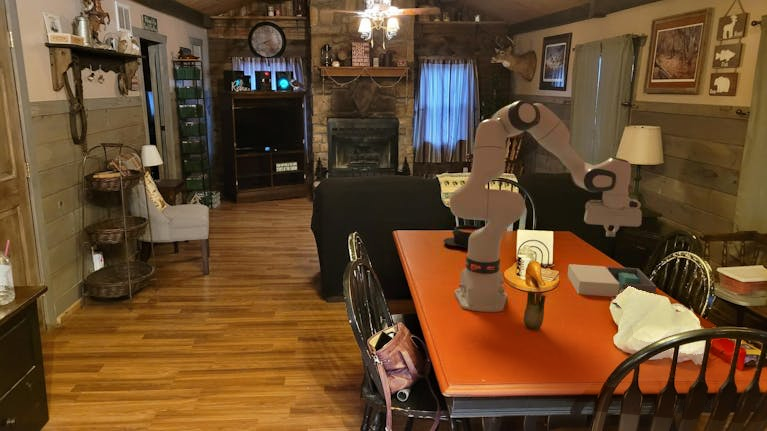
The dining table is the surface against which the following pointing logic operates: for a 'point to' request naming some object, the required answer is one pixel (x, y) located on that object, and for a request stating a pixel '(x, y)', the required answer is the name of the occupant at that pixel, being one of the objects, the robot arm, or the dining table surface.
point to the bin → (643, 281)
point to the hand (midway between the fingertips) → (610, 236)
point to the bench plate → (593, 280)
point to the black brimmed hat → (461, 235)
